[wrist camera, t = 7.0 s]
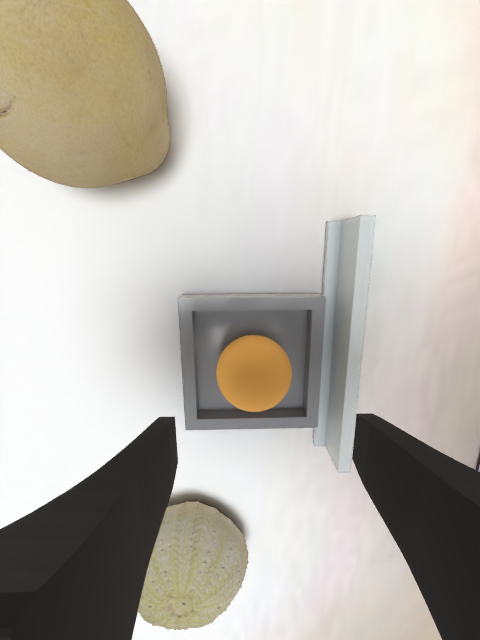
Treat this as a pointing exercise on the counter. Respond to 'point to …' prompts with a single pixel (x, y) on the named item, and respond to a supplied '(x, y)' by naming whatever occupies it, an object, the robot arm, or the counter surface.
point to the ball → (254, 373)
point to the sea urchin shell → (193, 567)
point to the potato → (81, 91)
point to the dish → (242, 320)
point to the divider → (343, 333)
